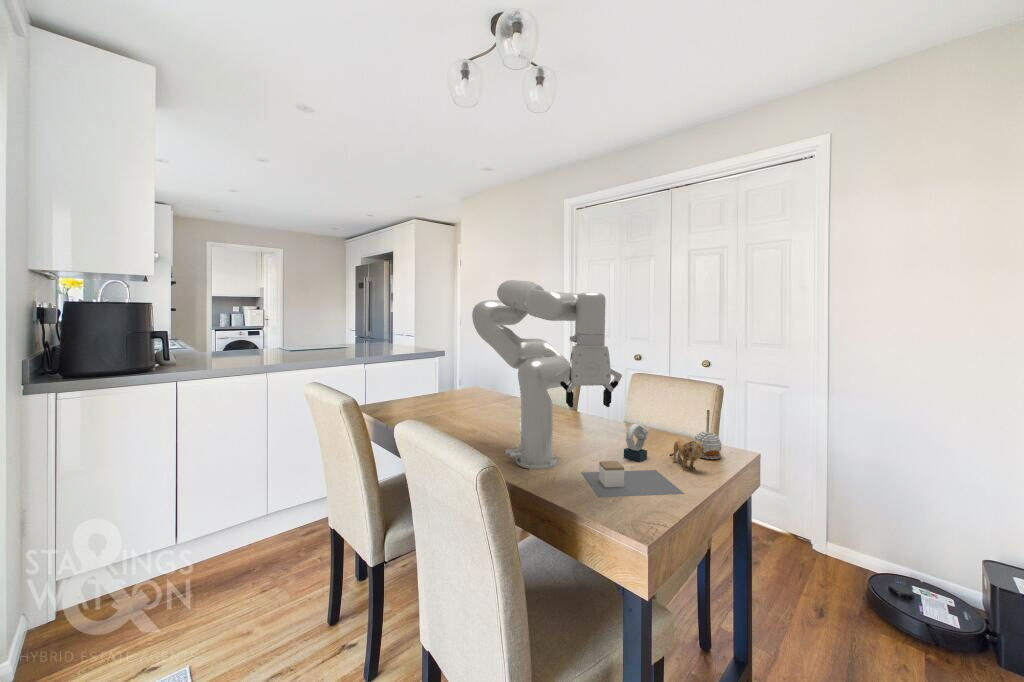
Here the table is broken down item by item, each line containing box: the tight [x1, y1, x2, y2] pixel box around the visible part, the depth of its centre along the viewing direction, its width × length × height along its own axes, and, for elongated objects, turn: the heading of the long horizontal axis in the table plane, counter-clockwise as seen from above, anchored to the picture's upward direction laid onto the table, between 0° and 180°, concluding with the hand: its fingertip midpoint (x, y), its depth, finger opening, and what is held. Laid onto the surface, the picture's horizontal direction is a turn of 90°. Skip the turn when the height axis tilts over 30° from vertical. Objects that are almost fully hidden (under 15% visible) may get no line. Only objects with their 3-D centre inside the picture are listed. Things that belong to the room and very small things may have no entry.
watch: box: [623, 423, 649, 463], centre depth 129 cm, size 6×8×11 cm
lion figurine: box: [669, 439, 707, 471], centre depth 124 cm, size 15×5×9 cm, turn 14°
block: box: [598, 460, 625, 487], centre depth 109 cm, size 5×5×5 cm
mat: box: [580, 469, 685, 498], centre depth 110 cm, size 22×16×1 cm
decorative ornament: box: [692, 409, 722, 460], centre depth 132 cm, size 8×8×15 cm
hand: (588, 406), depth 109 cm, fingers open, 9 cm apart
